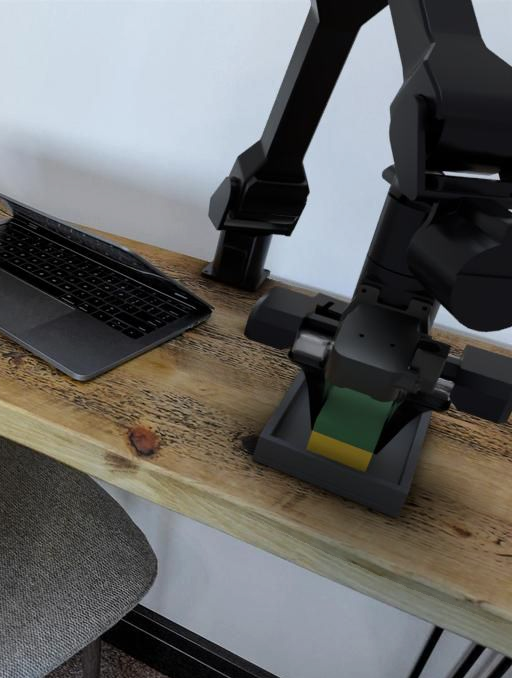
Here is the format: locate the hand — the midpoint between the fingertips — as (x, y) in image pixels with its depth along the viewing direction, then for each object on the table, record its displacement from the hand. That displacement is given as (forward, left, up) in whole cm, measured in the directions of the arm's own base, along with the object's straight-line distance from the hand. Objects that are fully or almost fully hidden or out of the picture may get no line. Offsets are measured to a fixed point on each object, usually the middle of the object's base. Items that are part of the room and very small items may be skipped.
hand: (344, 440), depth 66 cm
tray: (-3, 0, -2) cm, 3 cm away
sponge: (0, 0, -1) cm, 1 cm away
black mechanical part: (-19, -6, -2) cm, 20 cm away
